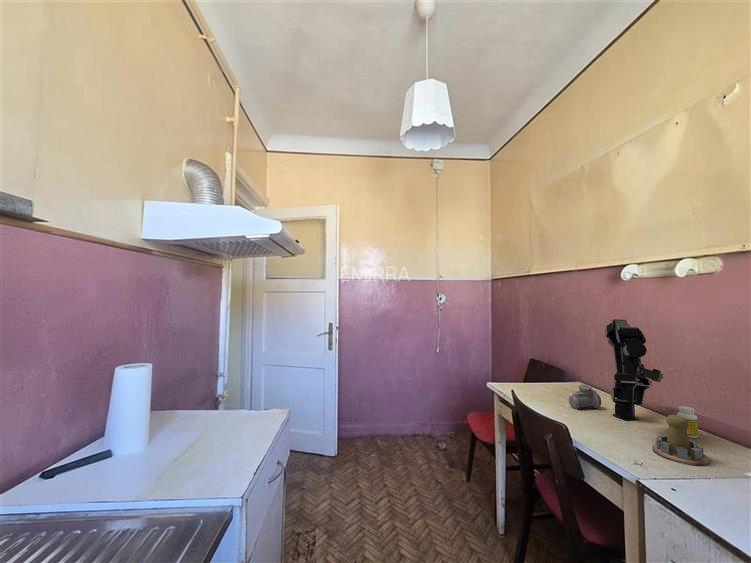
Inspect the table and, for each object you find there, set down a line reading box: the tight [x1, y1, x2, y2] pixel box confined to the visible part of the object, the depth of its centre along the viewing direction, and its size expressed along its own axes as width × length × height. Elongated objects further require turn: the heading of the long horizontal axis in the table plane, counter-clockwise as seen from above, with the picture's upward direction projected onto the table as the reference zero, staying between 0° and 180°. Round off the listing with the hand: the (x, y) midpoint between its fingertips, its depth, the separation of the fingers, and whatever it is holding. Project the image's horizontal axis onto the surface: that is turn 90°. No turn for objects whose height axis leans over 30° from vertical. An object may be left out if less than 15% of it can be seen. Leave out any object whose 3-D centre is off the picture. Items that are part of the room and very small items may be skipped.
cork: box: [665, 414, 691, 456], centre depth 104 cm, size 6×6×11 cm
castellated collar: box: [655, 434, 705, 461], centre depth 103 cm, size 11×11×3 cm
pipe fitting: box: [567, 384, 602, 410], centre depth 149 cm, size 12×8×10 cm
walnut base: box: [651, 443, 710, 467], centre depth 103 cm, size 13×13×1 cm
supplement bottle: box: [676, 405, 699, 439], centre depth 119 cm, size 5×5×10 cm
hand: (635, 404), depth 119 cm, fingers open, 9 cm apart
